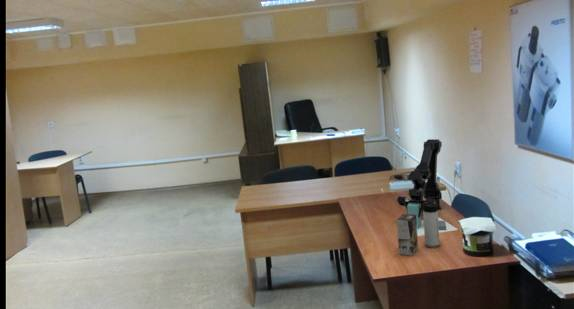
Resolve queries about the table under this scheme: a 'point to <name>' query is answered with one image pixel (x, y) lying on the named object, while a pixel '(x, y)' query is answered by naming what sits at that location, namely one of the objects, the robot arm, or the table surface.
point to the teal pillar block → (415, 212)
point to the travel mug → (431, 225)
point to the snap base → (441, 225)
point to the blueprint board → (448, 228)
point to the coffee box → (407, 234)
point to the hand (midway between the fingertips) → (413, 217)
